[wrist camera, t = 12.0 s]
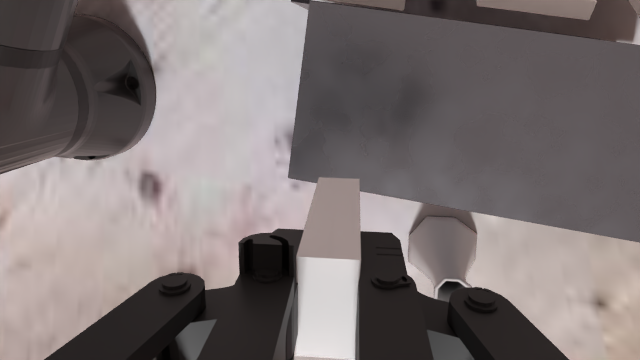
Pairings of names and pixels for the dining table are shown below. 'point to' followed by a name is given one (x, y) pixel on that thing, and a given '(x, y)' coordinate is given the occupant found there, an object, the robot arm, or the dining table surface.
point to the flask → (443, 253)
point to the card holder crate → (472, 117)
